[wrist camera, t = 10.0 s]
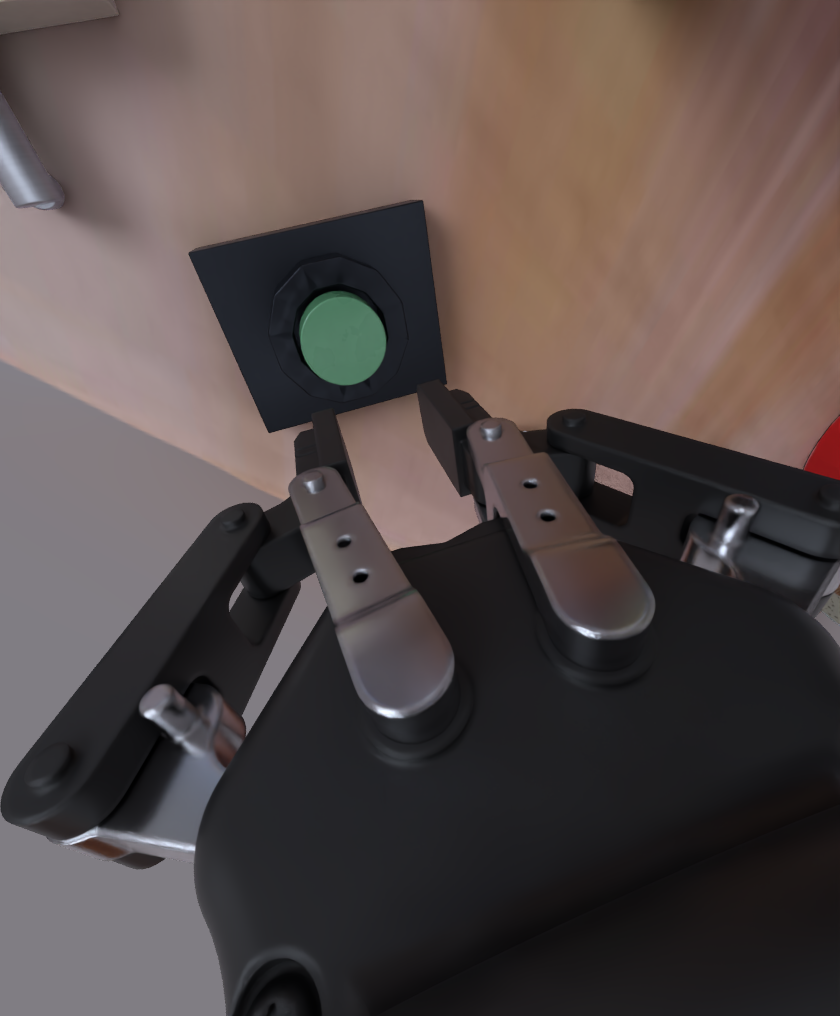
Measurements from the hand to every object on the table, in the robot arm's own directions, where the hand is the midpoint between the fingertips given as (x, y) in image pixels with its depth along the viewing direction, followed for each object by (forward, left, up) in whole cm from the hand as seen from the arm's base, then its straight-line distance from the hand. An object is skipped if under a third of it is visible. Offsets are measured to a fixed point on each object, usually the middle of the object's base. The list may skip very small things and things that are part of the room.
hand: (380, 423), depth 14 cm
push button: (0, 0, -12) cm, 12 cm away
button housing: (0, 0, -15) cm, 15 cm away
